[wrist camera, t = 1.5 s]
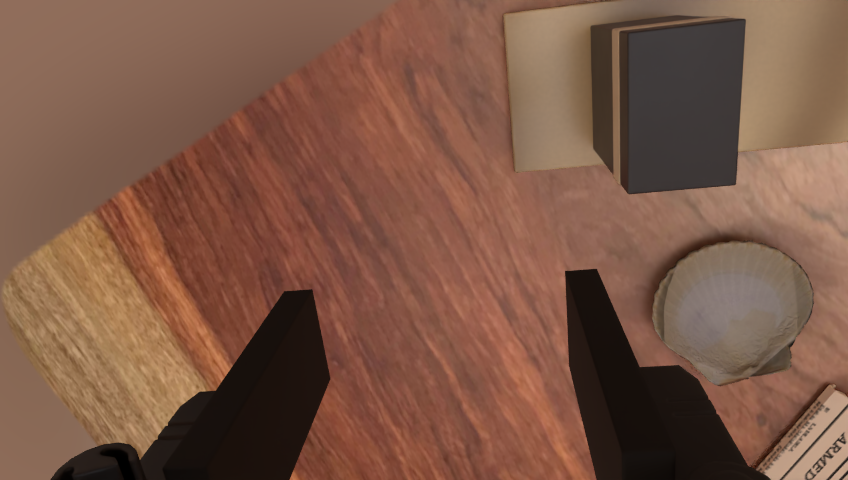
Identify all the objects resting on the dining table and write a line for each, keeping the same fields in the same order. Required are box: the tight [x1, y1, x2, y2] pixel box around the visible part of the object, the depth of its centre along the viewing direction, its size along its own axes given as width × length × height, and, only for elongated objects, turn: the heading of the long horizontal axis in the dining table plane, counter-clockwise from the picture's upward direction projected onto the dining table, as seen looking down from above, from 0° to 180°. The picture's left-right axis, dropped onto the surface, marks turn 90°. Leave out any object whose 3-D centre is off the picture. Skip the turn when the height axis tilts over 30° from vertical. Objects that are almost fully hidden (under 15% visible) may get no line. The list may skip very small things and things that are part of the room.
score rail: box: [503, 0, 848, 173], centre depth 28 cm, size 30×8×4 cm, turn 97°
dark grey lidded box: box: [590, 15, 746, 194], centre depth 26 cm, size 4×6×8 cm
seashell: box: [652, 240, 814, 386], centre depth 34 cm, size 8×3×8 cm
